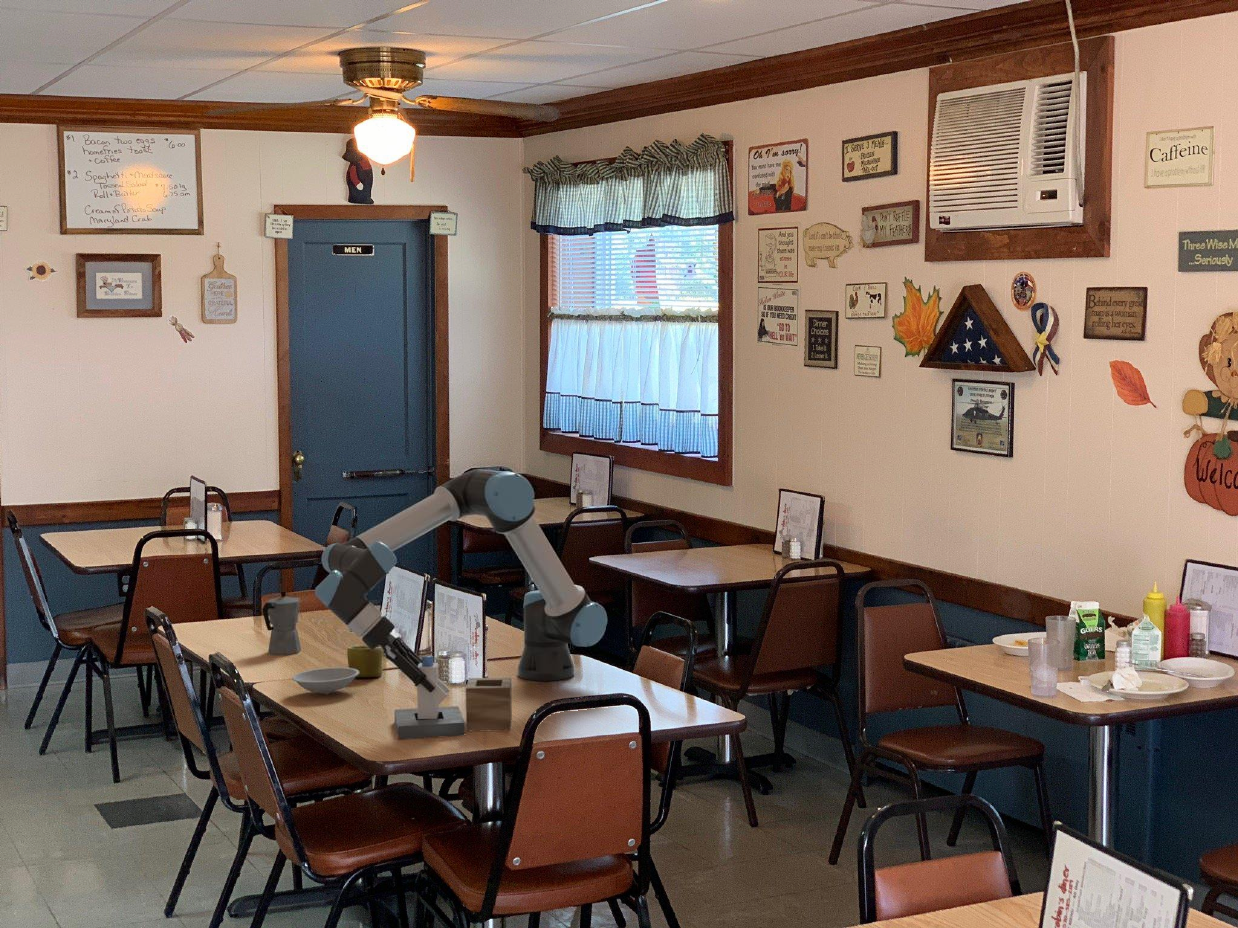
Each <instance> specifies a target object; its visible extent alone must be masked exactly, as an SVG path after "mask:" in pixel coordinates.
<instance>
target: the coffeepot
mask: <svg viewBox="0 0 1238 928" xmlns="http://www.w3.org/2000/svg"><path fill="white" fill-rule="evenodd" d="M286 594H287V591H286V590H280V595H281V596H279V597H274V598H271V599H269V600H267V601H266V602H265V603H264V605H263V607H262V615H263V619H264V622H265V626H266V628H267V629H266V630H267V631H271V632H270V638H269V644H268V651H267V652H268V654H270V655H273V656H288V655H290V656H291V655H295V654H296V655H297V654H298V653H300V652H301V651H302V648H301V642H300V637H299V632H298V629H297V623H298V622H299V621H298V620H299V613H300V605H301V598H300V597H291V596H287V595H286Z"/></svg>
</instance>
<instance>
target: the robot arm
mask: <svg viewBox="0 0 1238 928" xmlns="http://www.w3.org/2000/svg"><path fill="white" fill-rule="evenodd" d="M534 498H535V491H534V488H533V487H532V484H531V483H530V481H529V480H528V479H527V478H526V477H524V476H523V475H521V474H518V473H515V472H513V471H508V470H504V471H503V470H494V469H493V470H492V469H487V468H477V469H472V470H469V471H467V472H464V473H461V474H460V475H458V476H456V477H454V478H452V479H450V480H448V481H446V482H444V483H442V484H441V485H439V486H437V487H436V488H435V489H434V493H433V494H431V495H429V496H427V497H426V498H424V499H422V500H421V501H419V502H417V503H415V504H413V505H412V506H411V505H410V507H409V506H408V508H405V509H404V510H402V511H400V512H398V513H396V514H395V515H394V516H392V517H390V518H388V519H386V520H385V521H383V522H380V523H379V524H376V525H375V526H373V527H371V528H369V529H368V530H366V531H364V532H362V533H360V534H359V535H356V536H355V537H353V538H351V539H348V541H345V542H344V543H343V542H342V543H341V542H340V543H338V542H337V543H332V544H330V545H328V546H326V547H325V548H324V549H323V552H322V555H321V564H322V567H323V569H324V570H325V571H327V572H328V575H327V576H326V577H325V578H324V579H323V580H322V581H321V582H320V583H319V584H318V585H317V586H316V587H315V589H314V594H315V596H316V597H317V598H318V599H319V601H321V602H322V603H323V605H324V606H325V608H327V609H329V610H330V611H331V612H332V614H334V615H335V616H336V617H337V618H338V619H340V621H342V622H343V623H344V625H346V626H347V627H348V632H350V633H354V634H355V635H356V636H357V637H362V638H361V641H362V642H363V643H364V644H365V646H368V647H369V648H370V649H375V648H376V647H377V646H378V645H380V646H381V647H382V648H383V653H384V656H385V657H384V658H386V659H387V660H389V661H390V662H392V664H393V665H395V666H396V667H397V669H398V670H399V671H401V672H402V673H403V674H404V675H405V676H406V677H408V679H409V680H410V681H411V682H413V683H414V686H415V687H416V688H417V686H418V685H420V686H421V687H422V688H423V689H424V690H425V691H426V692H428V693H429V694H430V695H431V696H432V697H433V698H434V699H435V700H436V701H437V702H438V703H439V705H440V704H441V703H442V702H443V701H444V700H445V699H446V698H447V697H448V696H449V694H448V693H449V692H450V691H451V690H450V688H449V687H448V686H447V685H446V684H445V683H444V682H443V681H442V680H441V679H440V678H438V685H437V684H436V683H435V682H434V681H433V680H432V679H431V678H430V677H429V676H427V677H426V675H425V674H424V673H423V672H422V671H421V670H420V669H419V668H418V665H419V663H422V657H420V656H419V655H418V654H417V653H416V652H415V651H413V649H412V648H411V647H410V646H408V644H406V642H405V641H404V640H403V639H402V637H400V636H396V637H395V635H393V634H392V632H393V631H394V630H395V627H396V626H395V624H394V623H393V622H391V620H390V619H388V618H387V617H386V616H383V615H382V614H383V612H382V611H380V610H379V609H378V607H377V606H375V605H374V604H373V603H372V602H371V601H370V600H369V599H367V597H366V596H368V594H369V593H370V592H371V591H372V590H373V589H374V588H375V587H376V586H377V585H378V584H379V583H380V582H381V581H382V580H383V579H384V578H385V577H386V576H387V575H388V574H390V572H391V571H392V569H393V568H394V567H395V566H396V565H397V560H398V559H397V557H396V555H395V553H394V551H396V550H397V549H400V548H401V547H403V546H405V545H407V544H409V543H410V542H412V541H414V540H415V539H418V538H420V537H422V536H423V535H425V534H426V533H428V532H430V531H431V530H434V529H435V528H437V527H439V526H441V525H442V524H444V523H446V522H448V521H450V522H456V521H458V520H459V519H462V518H463V517H467V516H473V515H474V516H475V515H477V516H484V517H486V518H487V520H488V522H489V523H490V526H492V528H493V530H494V531H495V532H496V533H497V534H501V535H504V536H505V538H506V539H507V541H508V542H509V544H510V546H511V547H512V549H513V552H515V554H516V555H517V557H518V559H519V560H520V562H521V564H522V565H523V567H524V568H525V570H526V572H527V573H528V575H529V577H530V579H531V580H532V582H533V584H535V587H536V590H531V591H529V592H526V593H525V594H524V598H523V599H524V600H523V605H522V607H523V637H524V638H523V639H524V640H523V641H524V642H523V643H524V645H523V646H524V647H523V650H522V653H521V656H520V659H519V663H518V666H517V675H518V677H519V678H522V679H523V680H529V681H540V682H542V681H543V682H545V681H560V680H565V679H569V678H572V677H573V676H575V665H574V661H573V658H572V655H571V652H570V649H569V646H568V644H570V645H573V646H576V647H585V648H587V647H591V646H594V645H596V644H597V643H598V642H599V641H600V640H601V639H602V638H603V636H604V634H605V632H606V628H607V624H608V616H607V611H606V610H605V608H604V607H603V606H602V605H601V604H599V603H598V602H594V601H592V600H591V598H590V597H589V595H588V594H587V592H586V590H585V589H584V588H583V586H581V585H575V583H574V582H573V580H572V578H571V577H570V575H569V573H568V571H567V570H566V569H565V567H564V565H563V564H562V562H561V560H560V558H559V557H558V555H557V553H556V552H555V550H554V548H553V546H552V545H551V543H550V542H549V540H548V538H547V537H546V535H545V533H544V532H543V530H542V528H541V526H540V525H539V523H538V521H537V520H536V518H535V514H536V506H535V501H534ZM537 589H538V590H537Z"/></svg>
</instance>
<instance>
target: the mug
mask: <svg viewBox="0 0 1238 928" xmlns="http://www.w3.org/2000/svg"><path fill="white" fill-rule="evenodd" d="M383 651H384V650H383V648H382V647H381V646H380V645H378V646H377V647H376V648H375V649H370V648H369V647H368V646H367V645H352V646H349V647H347V651H346V653H347V654H346V655H347V666H348V668H352V669H356V670H358V671H359V675H357V676H355V678H354V679H365V678H379V677H381V676H382V674H383V655H384V654H383V653H384V652H383Z"/></svg>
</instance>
